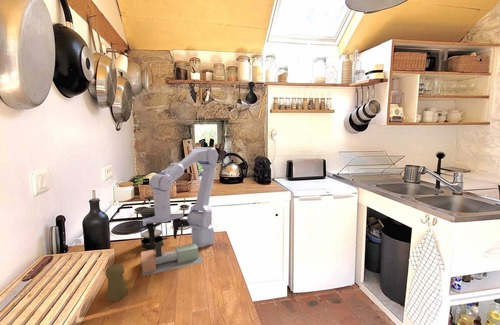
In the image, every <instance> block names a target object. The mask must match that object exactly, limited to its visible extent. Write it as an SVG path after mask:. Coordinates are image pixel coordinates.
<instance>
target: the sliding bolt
mask: <svg viewBox="0 0 500 325" xmlns="http://www.w3.org/2000/svg"><path fill="white" fill-rule="evenodd" d="M154 244H155V249H154V250H155V251H154V255H155V260H156V264H160V263H165V262H169V261H174V260H178V256H177V250H176V249H174V250H170V251H164V252H163V250H162V246H161V243H158V242H155V243H154Z"/></svg>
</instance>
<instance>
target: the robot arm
mask: <svg viewBox="0 0 500 325" xmlns="http://www.w3.org/2000/svg"><path fill="white" fill-rule="evenodd" d="M218 159H219V153H218V151H217V149H216V148H215V147H206V146H205V147H204V146H196V147H194V148H193V149H191V152H189V153H188V155H186V156H185V157H184V158H183V159H182V160H181V161H179V162H171V163H170V164H169V166H168V167H166V168H165V169H162V170H161V171H160V172H159V173H155V174H153V175H152V176H151V177H150V180H149V182H148V185H149V187H150V188H151V191H152V193H153V195H152V196H154V198H153V203H154V204H153V205H154V206H153V207H154V208H155V216H154V217H150V218H142V219H141V221H142V220H143V223H142V224H143V226H146V227H147V228H146V229H147V231H149V232H150V234H151V236H152V239H153V243H154V244H155V243H156V242H155V236H154V229H155V227H154V225H153V224H156V223H160V222H162V223H165V222H166V223H168V222H172V226H173V231H172V232H173V239H174V240H175V239H177V234H178V231H179V228H180V226H181V225H182V220H184V214H183V212H181V213H172V209H171V194H170V190H171V189H172V187H173V184H174V182H176V181H177V180H178V179H179V178H181V177H182V176H183V175H184V174H185V170H186V169H188V168H189V167H191V166H192V165H194V164H196V163H197V164H199V166H201V168H202V169H203V170H202V175H201V178H200V184H199V188H198V193H197V197H196V202H195V204H194V205H192V206H191V207H190V209H189V212H188V214H187V217H186V220H187V223H188V224H189V226H190V227H191V244H194V243H196V245H197V247H198V248H205V247H207V246H211V245H214V244H215V231H214V226H213V224H212V221H213V217H212V215H213V214H212V212H213V211H212V210H211V207H209V204H210V198H211V193H212V189H213V184H214V181H215V180H214V179H215V177H216V176H215V175H216V171H217V164H218Z"/></svg>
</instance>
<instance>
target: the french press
mask: <svg viewBox="0 0 500 325" xmlns="http://www.w3.org/2000/svg"><path fill="white" fill-rule="evenodd" d="M143 199H144V200H147V201H148V205H149V206H148V207H145V208H142V209H140V210H138V214H140V216H141V217H142V219H146V218H150V217H154V216H155V208H154V206H151V199H153V200H154V195H148V196H145V197H143ZM142 219H141V220H140V221H139V226H140V227H139V229H140V230H139V231H140V241H141V248H142V249H144V250H146V251H149V250H155V243H161V247H162V246H163V244H164V240H165V241H166V240H168V230H167V229H168V227H167V222H164V223H165V237H163V222H160V223H154V224H153V225H154V236H155V243H153V239H152V236H151V234H150V232H149V231H148V230H145V231H143V232H142V229H147V227H146V226H143V220H142ZM158 226H160V228H161V229H158V228H157V227H158ZM156 228H157V229H156Z"/></svg>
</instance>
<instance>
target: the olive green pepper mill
mask: <svg viewBox="0 0 500 325" xmlns="http://www.w3.org/2000/svg"><path fill="white" fill-rule="evenodd" d="M124 273H125V268H124V266H123V264H120V263H115V264H111V265H108V267H107V268H106V270H105V277H106V278H107V291H106V300H107V301H108V302H110V303H115V302H119V301H121V300H123V299H125V298H126V297H127V295H128V290H127V287H126V283H125V279H124V276H123V275H124Z"/></svg>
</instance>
